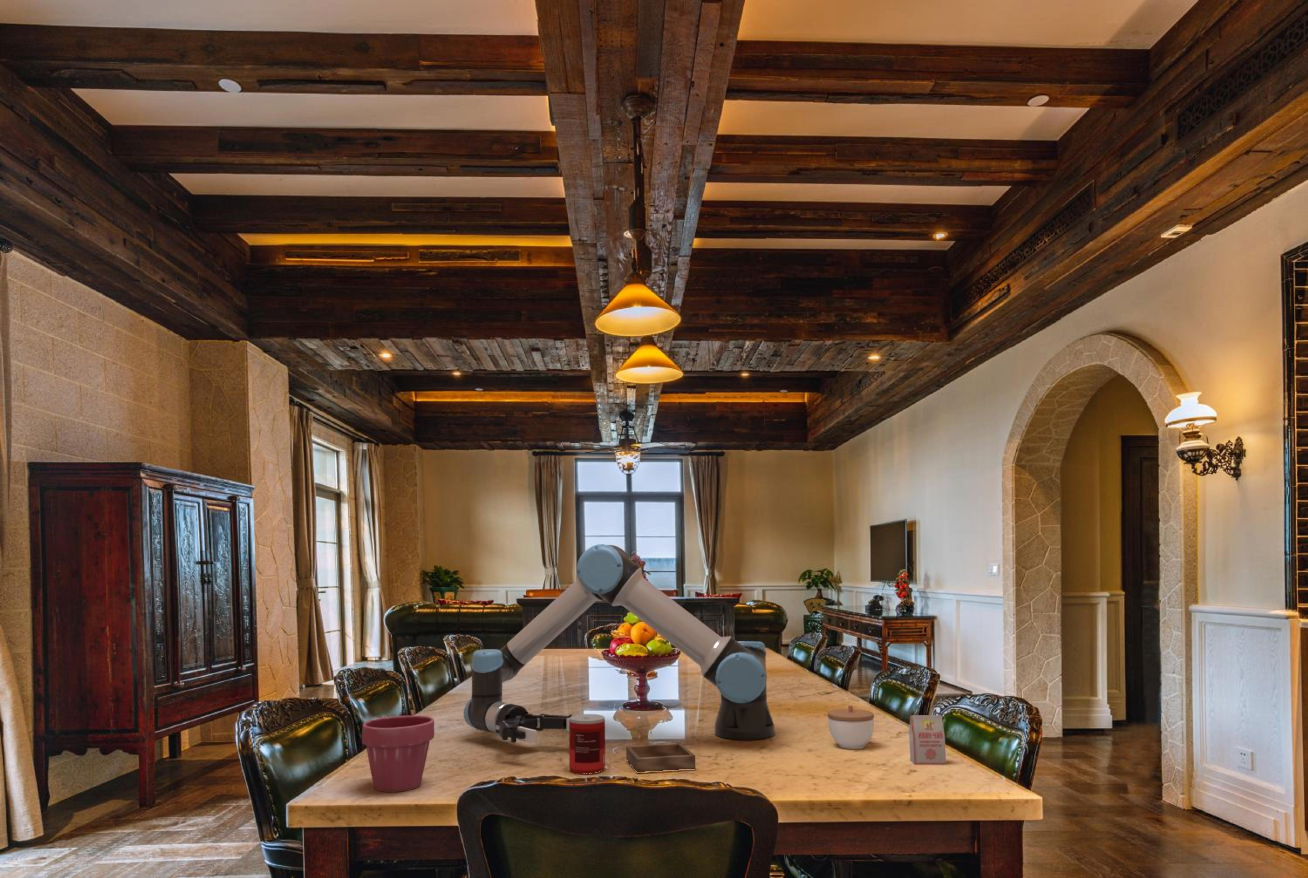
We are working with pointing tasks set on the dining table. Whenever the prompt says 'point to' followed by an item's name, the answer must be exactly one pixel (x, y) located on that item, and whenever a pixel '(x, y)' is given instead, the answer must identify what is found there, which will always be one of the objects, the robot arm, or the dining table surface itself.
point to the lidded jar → (851, 727)
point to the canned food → (587, 743)
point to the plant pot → (397, 750)
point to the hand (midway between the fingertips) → (561, 732)
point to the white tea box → (927, 740)
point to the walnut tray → (660, 757)
